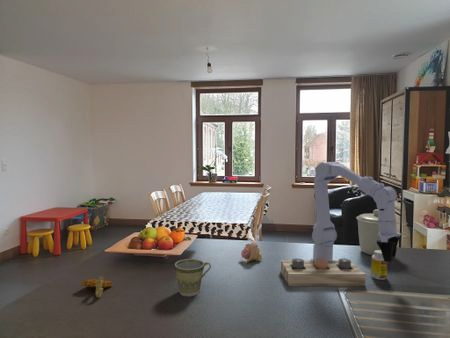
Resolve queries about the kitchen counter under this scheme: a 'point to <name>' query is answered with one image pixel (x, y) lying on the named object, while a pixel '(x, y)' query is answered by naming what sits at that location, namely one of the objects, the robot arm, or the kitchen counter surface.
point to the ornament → (97, 285)
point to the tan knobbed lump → (251, 252)
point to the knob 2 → (344, 264)
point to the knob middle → (321, 264)
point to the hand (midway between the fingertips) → (390, 258)
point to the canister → (369, 232)
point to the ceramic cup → (190, 276)
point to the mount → (322, 275)
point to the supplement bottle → (378, 266)
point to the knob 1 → (297, 264)
